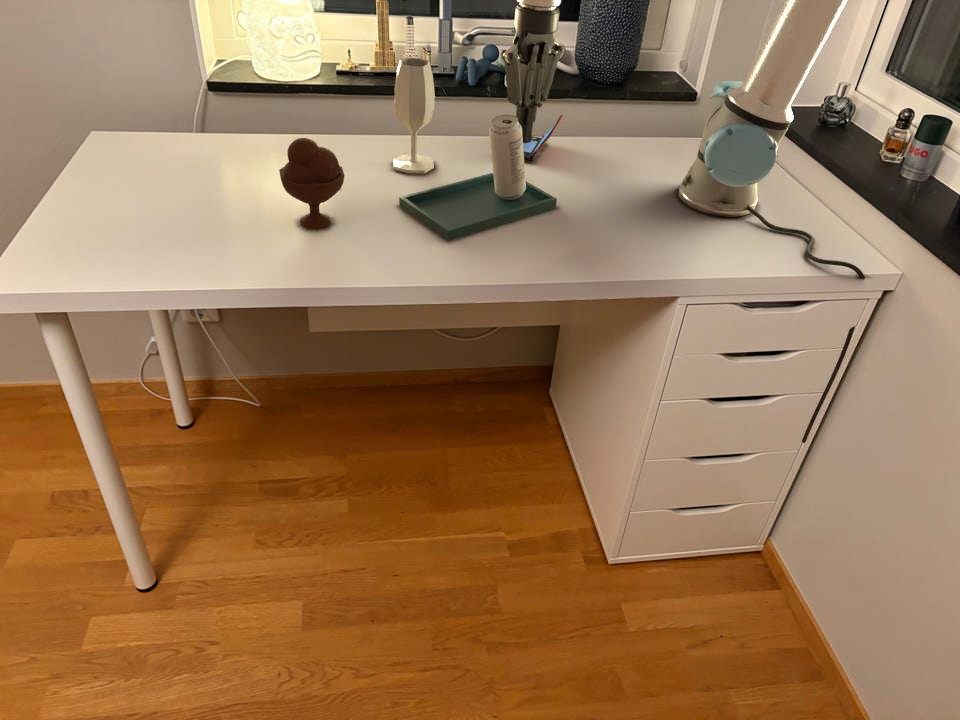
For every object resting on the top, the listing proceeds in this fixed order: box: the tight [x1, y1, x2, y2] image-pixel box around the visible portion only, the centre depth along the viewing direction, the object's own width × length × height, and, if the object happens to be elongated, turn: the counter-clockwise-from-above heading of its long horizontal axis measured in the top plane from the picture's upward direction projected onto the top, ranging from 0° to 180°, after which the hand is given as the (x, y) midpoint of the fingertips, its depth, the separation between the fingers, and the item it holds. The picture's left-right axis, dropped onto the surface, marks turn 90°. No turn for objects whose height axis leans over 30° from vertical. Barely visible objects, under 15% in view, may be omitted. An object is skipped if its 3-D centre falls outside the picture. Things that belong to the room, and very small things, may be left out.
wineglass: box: [392, 56, 436, 174], centre depth 151 cm, size 9×9×21 cm
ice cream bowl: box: [278, 137, 345, 231], centre depth 130 cm, size 11×11×15 cm
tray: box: [398, 172, 558, 242], centre depth 143 cm, size 16×26×2 cm, turn 128°
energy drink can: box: [488, 114, 527, 200], centre depth 142 cm, size 6×6×15 cm
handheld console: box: [523, 114, 563, 163], centre depth 165 cm, size 12×11×7 cm
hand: (523, 140), depth 142 cm, fingers closed
